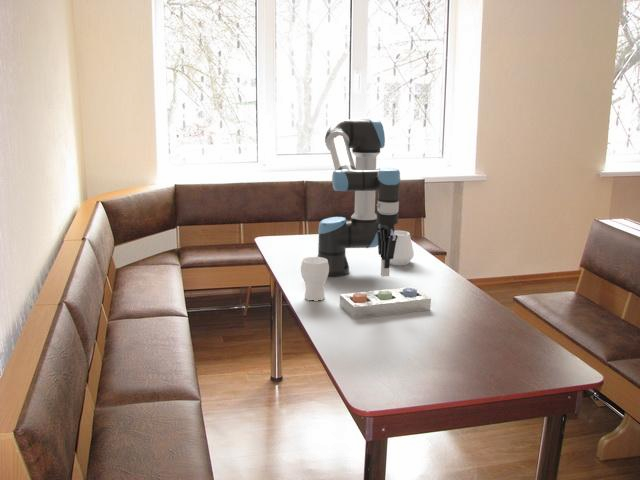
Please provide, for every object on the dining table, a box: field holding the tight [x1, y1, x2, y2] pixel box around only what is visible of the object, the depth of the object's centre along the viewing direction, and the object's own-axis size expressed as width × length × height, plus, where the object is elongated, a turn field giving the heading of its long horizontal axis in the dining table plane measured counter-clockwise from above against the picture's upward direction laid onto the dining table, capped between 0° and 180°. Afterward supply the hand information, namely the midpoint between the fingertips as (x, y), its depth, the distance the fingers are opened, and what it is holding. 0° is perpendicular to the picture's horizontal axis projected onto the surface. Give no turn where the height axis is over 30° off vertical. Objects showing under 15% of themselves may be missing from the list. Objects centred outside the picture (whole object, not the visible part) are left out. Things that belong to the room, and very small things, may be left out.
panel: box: [339, 286, 432, 320], centre depth 243 cm, size 14×30×4 cm, turn 109°
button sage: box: [378, 291, 392, 300], centre depth 243 cm, size 5×5×5 cm
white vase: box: [390, 230, 415, 266], centre depth 300 cm, size 13×13×14 cm
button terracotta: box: [353, 292, 367, 303], centre depth 240 cm, size 5×5×5 cm
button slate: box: [403, 287, 418, 297], centre depth 246 cm, size 5×5×5 cm
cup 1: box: [300, 256, 329, 302], centre depth 251 cm, size 11×11×15 cm
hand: (384, 275), depth 242 cm, fingers closed
